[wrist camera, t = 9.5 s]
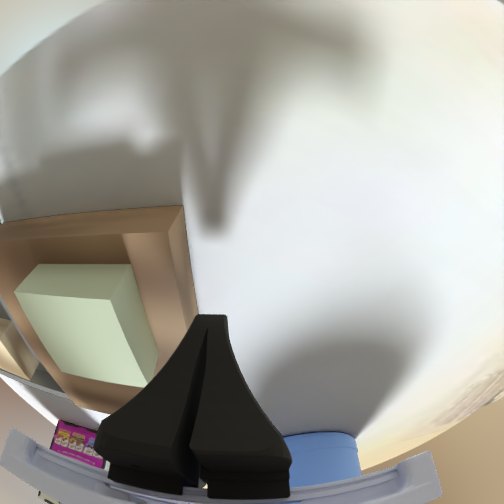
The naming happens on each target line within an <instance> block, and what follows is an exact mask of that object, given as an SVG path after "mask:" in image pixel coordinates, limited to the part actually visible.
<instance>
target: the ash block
mask: <svg viewBox="0 0 504 504" xmlns="http://www.w3.org/2000/svg"><path fill="white" fill-rule="evenodd" d="M38 364H39V362H38V361H37V359H36V358H35V357H34V355H33V354H32V352H31V351H30V349H29V348H28V346H27V345H26V343H25V342H24V340H23V338H22V337H21V335H20V334H19V332H18V330H17V329H16V327H15V325H14V324H13V322H12V321H10V320H6V319H2V318H0V368H1V369H3V370H5V371H8V372H10V373H12V374H15V375H17V376H20V377H22V378H25V379H27V380H31V378H32V376H33V374H34V372H35V370H36V368H37V366H38Z"/></svg>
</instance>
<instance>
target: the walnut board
mask: <svg viewBox="0 0 504 504" xmlns="http://www.w3.org/2000/svg"><path fill="white" fill-rule="evenodd" d="M38 264H131V266H132V269H133V273H134V277H135V280H136V284H137V287H138V291H139V294H140V298H141V301H142V304H143V307H144V311H145V314H146V317H147V320H148V323H149V326H150V329H151V332H152V334H153V337H154V340H155V343H156V346H157V348H158V351H159V356H158V359H157V363H156V367H155V371H154V375H153V378H154V377H155V376H156V375H157V373H158V372H159V371H160V370H161V369H162V367H163V366H164V365H165V364H166V362H167V361H168V360H169V358H170V357H171V355H172V354H173V353H174V351H175V350H176V348H177V347H178V345H179V344H180V342H181V341H182V339H183V338H184V336H185V334H186V332H187V331H188V329H189V327H190V325H191V324H192V322H193V320H194V318H195V316H196V315H197V314H198V309H197V303H196V297H195V291H194V284H193V278H192V271H191V264H190V257H189V250H188V242H187V234H186V226H185V218H184V209H183V205H182V206H163V207H146V208H132V209H119V210H107V211H95V212H85V213H75V214H66V215H57V216H49V217H41V218H33V219H25V220H18V221H12V222H5V223H3V224H2V225H0V295H1V297H2V299H3V301H4V303H5V305H6V306H7V308H8V310H9V312H10V314H11V316H12V317H13V319H14V321H15V323H16V324H17V326H18V328H19V329H20V331H21V333H22V334H23V336H24V338H25V339H26V341H27V342H28V344H29V345H30V347H31V348H32V350H33V351H34V353H35V354H36V356H37V357H38V358H39V360H40V361H41V363H42V364H43V365H44V367H45V368H46V370H47V371H48V372H49V373H50V375H51V376H52V377H53V379H54V380H55V381H56V382H57V384H58V385H59V386H60V387H61V389H62V390H63V391H64V392H65V393H66V395H67V396H68V397H69V398H70V399H71V400H72V401H73V403H74V404H75V405H76V406H79V407H83V408H86V409H90V410H94V411H98V412H102V413H107V414H113V413H114V412H115V411H117V410H118V409H120V408H121V407H122V406H124V405H125V404H126V403H127V402H129V401H130V400H131V399H132V398H133V397H135V396H136V395H137V394H138V393H139V392H140V391H141V390H142V389H143V387H136V386H129V385H122V384H116V383H111V382H105V381H100V380H95V379H90V378H85V377H81V376H76V375H72V374H68V373H64V372H62V371H61V370H60V369H59V367H58V366H57V364H56V363H55V362H54V360H53V359H52V357H51V356H50V354H49V353H48V351H47V350H46V348H45V347H44V345H43V343H42V342H41V340H40V339H39V337H38V335H37V334H36V332H35V330H34V329H33V327H32V325H31V324H30V322H29V320H28V318H27V316H26V315H25V313H24V311H23V309H22V307H21V305H20V303H19V301H18V299H17V297H16V295H15V293H14V291H15V290H16V288H17V287H18V286H19V285H20V284H21V283H22V282H23V280H24V279H25V278H26V277H27V276H28V275H29V274H30V273H31V272H32V271H33V269H34V268H35V267H36V266H37V265H38ZM153 378H152V379H153Z"/></svg>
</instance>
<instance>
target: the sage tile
mask: <svg viewBox="0 0 504 504" xmlns="http://www.w3.org/2000/svg"><path fill="white" fill-rule="evenodd" d="M14 293H15V295H16V297H17V299H18V301H19V303H20V305H21V307H22V309H23V311H24V313H25V315H26V316H27V318H28V320H29V322H30V324H31V325H32V327H33V329H34V330H35V332H36V334H37V335H38V337H39V339H40V340H41V342H42V343H43V345H44V347H45V348H46V350H47V351H48V353H49V354H50V356H51V357H52V359H53V360H54V362H55V363H56V364H57V366H58V367H59V369H60V370H61V371H62V372H64V373H68V374H72V375H76V376H81V377H85V378H90V379H95V380H100V381H105V382H111V383H116V384H122V385H129V386H136V387H143V388H144V387H145V386H146V385H147V384H148V383H149V382H150V381H151V380H152V378H153V375H154V371H155V367H156V363H157V359H158V356H159V351H158V348H157V346H156V343H155V340H154V337H153V334H152V332H151V329H150V326H149V323H148V320H147V317H146V314H145V311H144V307H143V304H142V301H141V298H140V294H139V291H138V287H137V284H136V280H135V277H134V273H133V269H132V266H131V264H38V265H37V266H36V267H35V268H34V269H33V271H32V272H31V273H30V274H29V275H28V276H27V277H26V278H25V279H24V280H23V282H22V283H21V284H20V285H19V286H18V287H17V288H16V290H15V291H14Z"/></svg>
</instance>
